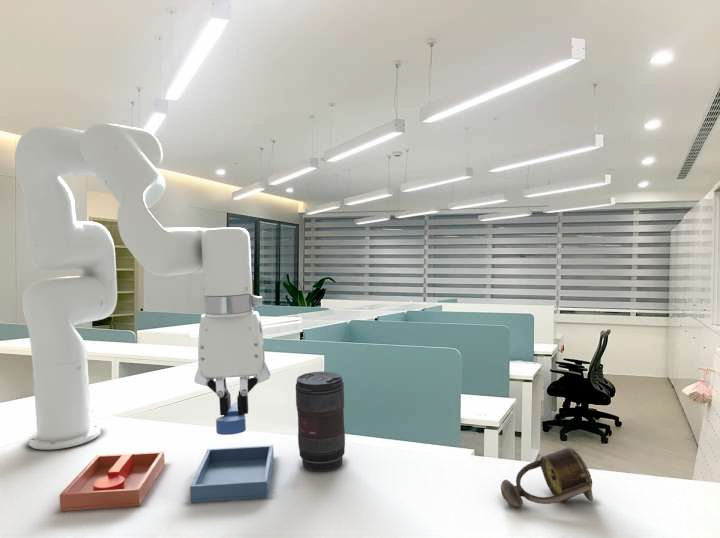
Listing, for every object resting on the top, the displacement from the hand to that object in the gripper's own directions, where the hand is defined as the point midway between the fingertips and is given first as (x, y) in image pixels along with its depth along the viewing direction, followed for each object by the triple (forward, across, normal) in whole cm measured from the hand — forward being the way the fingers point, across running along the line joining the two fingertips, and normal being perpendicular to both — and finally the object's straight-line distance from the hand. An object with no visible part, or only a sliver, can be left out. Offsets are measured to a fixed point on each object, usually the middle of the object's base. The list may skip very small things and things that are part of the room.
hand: (234, 418), depth 94 cm
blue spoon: (+1, 0, +1) cm, 1 cm away
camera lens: (+10, -14, -3) cm, 17 cm away
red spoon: (+9, +19, +1) cm, 21 cm away
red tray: (+10, +19, +1) cm, 21 cm away
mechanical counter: (+10, -46, +14) cm, 49 cm away
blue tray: (+10, 0, +1) cm, 10 cm away
